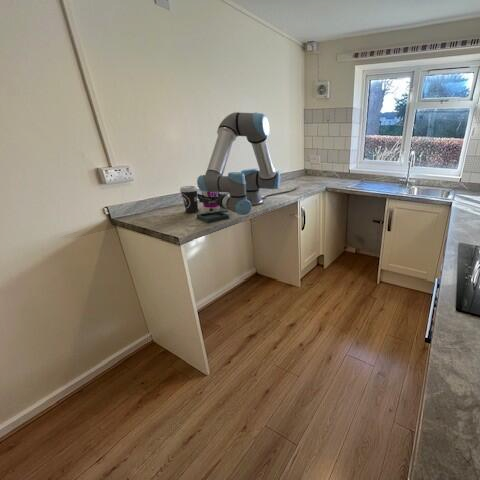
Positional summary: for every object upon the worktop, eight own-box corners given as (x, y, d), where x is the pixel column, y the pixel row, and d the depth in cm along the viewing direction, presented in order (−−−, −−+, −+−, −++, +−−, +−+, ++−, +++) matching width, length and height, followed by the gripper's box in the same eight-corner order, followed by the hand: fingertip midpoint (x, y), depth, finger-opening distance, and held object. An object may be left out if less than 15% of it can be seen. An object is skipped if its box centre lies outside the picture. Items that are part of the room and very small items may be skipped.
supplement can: (222, 211, 145) (219, 184, 139) (207, 213, 139) (203, 185, 134) (216, 208, 150) (213, 182, 145) (201, 210, 145) (197, 183, 139)
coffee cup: (196, 214, 153) (192, 188, 147) (180, 213, 153) (175, 188, 147) (203, 209, 162) (200, 185, 156) (188, 209, 162) (184, 185, 156)
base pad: (217, 213, 155) (217, 210, 154) (229, 218, 147) (228, 214, 146) (196, 218, 146) (196, 214, 145) (208, 223, 138) (207, 219, 137)
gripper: (209, 213, 125) (188, 204, 138) (246, 205, 140) (223, 199, 153) (207, 197, 122) (185, 190, 136) (245, 192, 137) (222, 186, 151)
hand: (205, 195), depth 145 cm, fingers closed on supplement can, 8 cm apart
